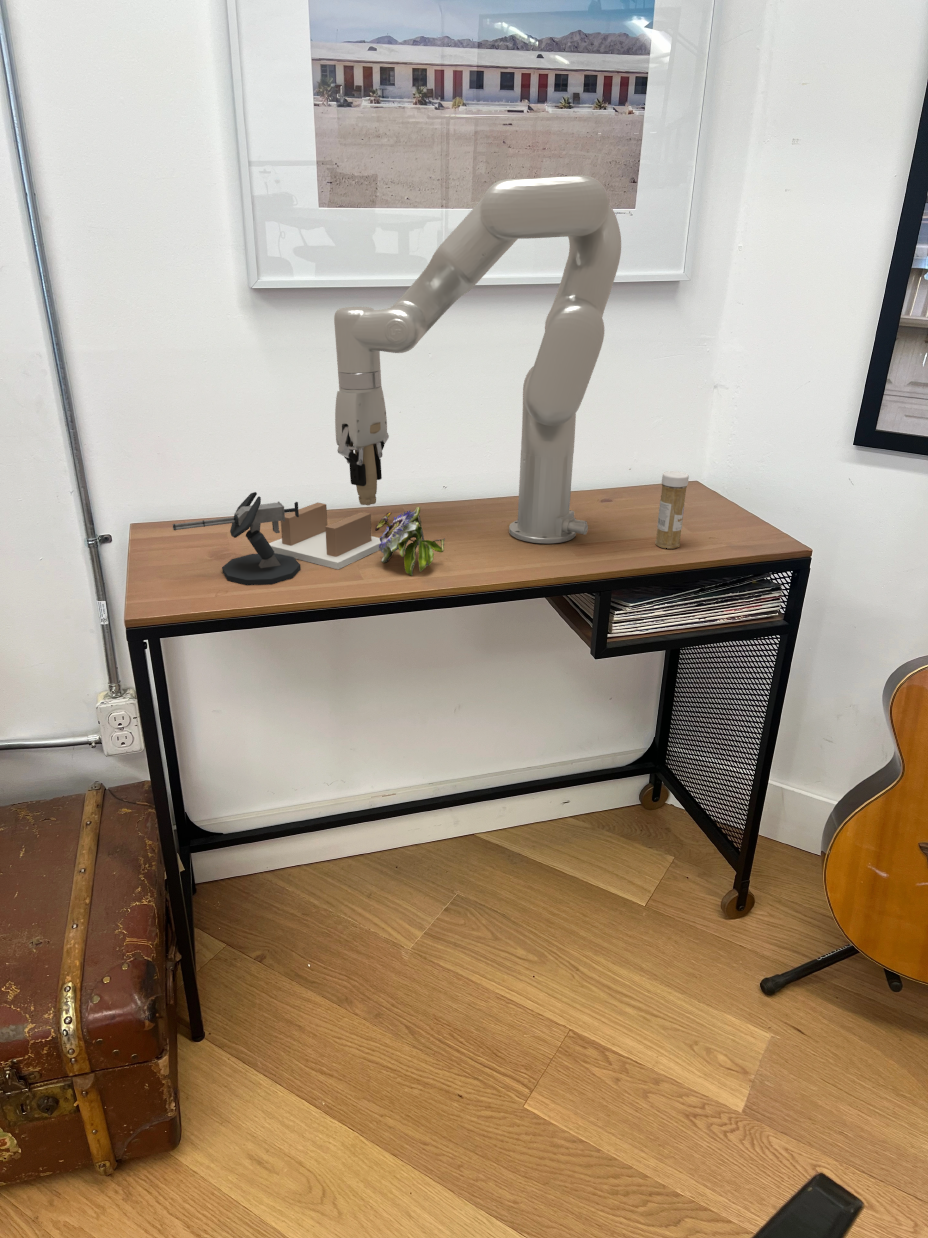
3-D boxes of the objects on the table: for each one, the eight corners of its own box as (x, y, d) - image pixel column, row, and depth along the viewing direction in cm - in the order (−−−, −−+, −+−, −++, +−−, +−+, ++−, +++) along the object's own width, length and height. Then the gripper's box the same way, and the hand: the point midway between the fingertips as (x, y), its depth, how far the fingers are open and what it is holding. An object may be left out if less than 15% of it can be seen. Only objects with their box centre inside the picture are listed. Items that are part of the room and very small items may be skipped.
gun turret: (174, 570, 144) (164, 494, 139) (292, 553, 152) (287, 481, 147) (188, 597, 134) (178, 516, 128) (314, 577, 142) (310, 501, 136)
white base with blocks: (387, 546, 156) (386, 512, 154) (338, 569, 145) (336, 534, 143) (318, 529, 164) (316, 497, 161) (266, 551, 153) (263, 517, 150)
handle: (386, 505, 162) (381, 424, 156) (351, 508, 161) (345, 426, 155) (383, 498, 166) (379, 419, 160) (349, 501, 165) (344, 421, 159)
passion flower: (387, 592, 151) (369, 527, 153) (447, 576, 153) (429, 512, 154) (388, 578, 140) (369, 508, 141) (453, 561, 141) (433, 492, 143)
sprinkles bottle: (682, 549, 157) (692, 476, 152) (657, 549, 157) (666, 476, 152) (676, 541, 162) (685, 470, 156) (651, 541, 161) (659, 469, 156)
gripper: (371, 372, 163) (376, 469, 170) (312, 386, 150) (321, 490, 157) (404, 375, 159) (408, 473, 167) (347, 389, 146) (354, 495, 154)
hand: (366, 480), depth 162 cm, fingers closed on handle, 4 cm apart
